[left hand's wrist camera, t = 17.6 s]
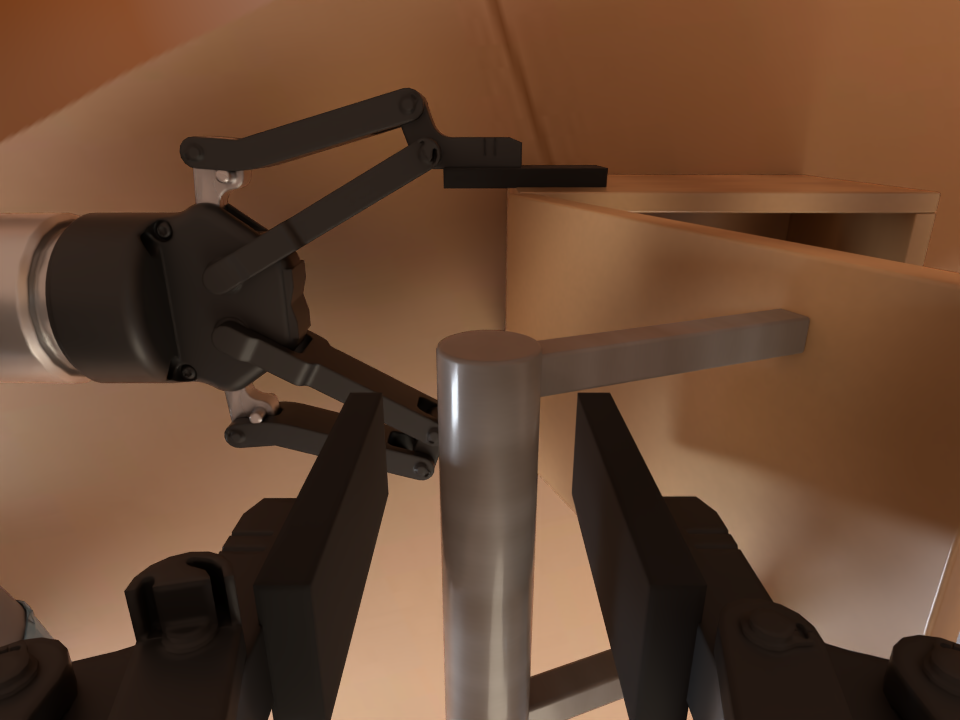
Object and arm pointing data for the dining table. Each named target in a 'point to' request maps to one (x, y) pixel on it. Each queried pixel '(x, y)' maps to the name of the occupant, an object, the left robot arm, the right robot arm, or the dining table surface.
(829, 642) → the lid
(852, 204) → the chest
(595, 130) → the dining table surface
